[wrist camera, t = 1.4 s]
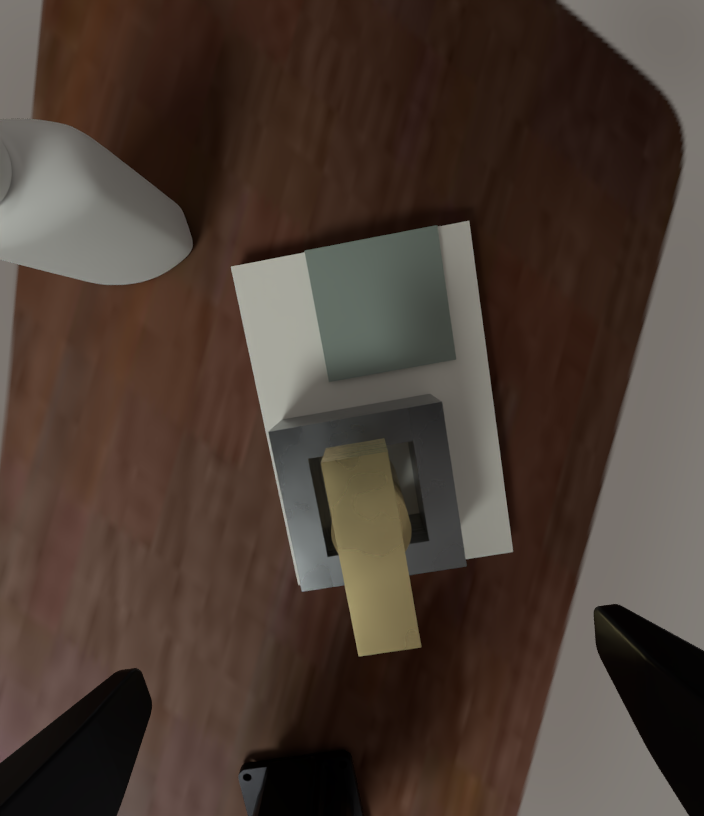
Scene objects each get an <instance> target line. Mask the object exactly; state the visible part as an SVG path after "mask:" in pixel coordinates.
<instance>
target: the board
mask: <svg viewBox="0 0 704 816" xmlns="http://www.w3.org/2000/svg"><path fill="white" fill-rule="evenodd" d="M437 228H438V235H439V242H440V249H441V256H442V263H443V269H444V276H445V283H446V290H447V297H448V304H449V311H450V318H451V325H452V332H453V339H454V346H455V353H456V360H451V361H445V362H440V363H434V364H428V365H423V366H417V367H411V368H406V369H400V370H395V371H389V372H383V373H378V374H372V375H366V376H361V377H355V378H350V379H344V380H338V381H333V382H329V380H328V374H327V369H326V364H325V358H324V353H323V348H322V342H321V337H320V332H319V326H318V321H317V315H316V310H315V305H314V299H313V294H312V289H311V283H310V278H309V273H308V267H307V262H306V257H305V252H304V253H299V254H294V255H289V256H284V257H278V258H273V259H268V260H263V261H258V262H253V263H247V264H242V265H237V266H232V267H231V270H232V274H233V279H234V284H235V289H236V293H237V298H238V303H239V308H240V312H241V317H242V322H243V326H244V331H245V336H246V341H247V345H248V350H249V355H250V359H251V364H252V369H253V374H254V378H255V383H256V388H257V392H258V397H259V402H260V407H261V411H262V416H263V421H264V426H265V430H266V435H267V440H268V444H269V449H270V454H271V459H272V463H273V468H274V473H275V477H276V482H277V487H278V492H279V496H280V501H281V506H282V511H283V515H284V520H285V525H286V529H287V534H288V539H289V544H290V548H291V553H292V558H293V562H294V567H295V572H296V577H297V581H298V585H300V580H299V576H298V571H297V566H296V561H295V557H294V552H293V547H292V542H291V538H290V533H289V528H288V523H287V519H286V514H285V509H284V505H283V500H282V495H281V490H280V486H279V481H278V476H277V471H276V467H275V462H274V457H273V452H272V448H271V443H270V438H269V433H268V432H269V431H270V430H271V429H272V428H273V427H274V426H275V425H276V424H278V423H279V422H280V421H281V420H282V419H288V418H293V417H299V416H305V415H311V414H316V413H322V412H328V411H334V410H339V409H345V408H351V407H357V406H362V405H368V404H374V403H379V402H385V401H391V400H397V399H402V398H408V397H414V396H420V395H425V394H431V395H433V396H434V397H436V398H437V399H439V400H440V401H442V404H443V411H444V418H445V424H446V431H447V438H448V444H449V451H450V458H451V464H452V471H453V478H454V484H455V491H456V498H457V504H458V511H459V518H460V524H461V531H462V538H463V544H464V551H465V558H466V559H471V558H477V557H484V556H490V555H497V554H503V553H509V552H513V547H512V539H511V532H510V524H509V517H508V509H507V502H506V494H505V487H504V479H503V472H502V464H501V457H500V449H499V441H498V434H497V426H496V419H495V411H494V404H493V396H492V389H491V381H490V374H489V366H488V359H487V351H486V343H485V336H484V328H483V321H482V313H481V306H480V298H479V291H478V283H477V276H476V268H475V261H474V253H473V246H472V238H471V230H470V223H469V221H465V222H460V223H454V224H449V225H444V226H439V227H437ZM387 450H388V455H389V460H390V461H391V462H392V464H393V465H394V468H395V470H396V474H397V477H398V481H399V484H400V488H401V491H402V495H403V498H404V502H405V505H406V509H407V512H408V515H411V514H417V513H419V508H418V501H417V495H416V489H415V483H414V477H413V471H412V465H411V459H410V453H409V447H408V442H404V443H398V444H392V445H387ZM322 458H323V456H322V457H319V461H320V466H321V461H322ZM321 472H322V467H321ZM322 477H323V472H322ZM323 482H324V477H323ZM324 487H325V482H324ZM325 492H326V487H325ZM326 497H327V492H326ZM327 502H328V497H327ZM328 507H329V502H328ZM329 512H330V508H329ZM330 518H331V513H330ZM331 523H332V518H331Z"/></svg>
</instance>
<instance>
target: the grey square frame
mask: <svg viewBox="0 0 704 816" xmlns="http://www.w3.org/2000/svg"><path fill="white" fill-rule="evenodd" d="M268 433H269V438H270V443H271V448H272V452H273V457H274V462H275V467H276V471H277V476H278V481H279V486H280V490H281V495H282V500H283V505H284V509H285V514H286V519H287V523H288V528H289V533H290V538H291V542H292V547H293V552H294V557H295V561H296V566H297V571H298V576H299V580H300V585H301V590H302V592H304V591H310V590H317V589H323V588H330V587H336V586H343V585H345V584H344V579H343V574H342V569H341V564H340V559H339V554H338V552H337V550H336V549H335V547H334V544H333V542H332V537H331V525H332V523H331V518H330V512H329V507H328V502H327V497H326V492H325V487H324V482H323V477H322V472H321V466H320V461H319V457H322V456H323V455H324V452H325V449H326V448H330V447H336V446H341V445H347V444H353V443H359V442H365V441H371V440H377V439H382V438H384V439H385V443H386V446H387V445H392V444H398V443H404V442H408V447H409V453H410V459H411V465H412V471H413V477H414V483H415V489H416V495H417V501H418V508H419V513H417V514H411V515H408V516H409V519H410V523H411V530H412V533H411V540H410V543H409V546H408V548H407V550H406V552H405V555H406V560H407V566H408V572H409V575H414V574H420V573H427V572H433V571H440V570H446V569H453V568H459V567H466V566H467V564H466V558H465V551H464V544H463V538H462V531H461V524H460V518H459V511H458V504H457V498H456V491H455V484H454V478H453V471H452V464H451V458H450V451H449V444H448V438H447V431H446V424H445V418H444V411H443V404H442V401H440V400H439V399H437V398H436V397H434V396H433V395H431V394H425V395H420V396H414V397H408V398H402V399H397V400H391V401H385V402H379V403H374V404H368V405H362V406H357V407H351V408H345V409H339V410H334V411H328V412H322V413H316V414H311V415H305V416H299V417H293V418H288V419H282V420H281V421H280V422H279V423H278V424H276V425H275V426H274V427H273V428H272V429H271V430H270V431H269V432H268Z"/></svg>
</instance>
